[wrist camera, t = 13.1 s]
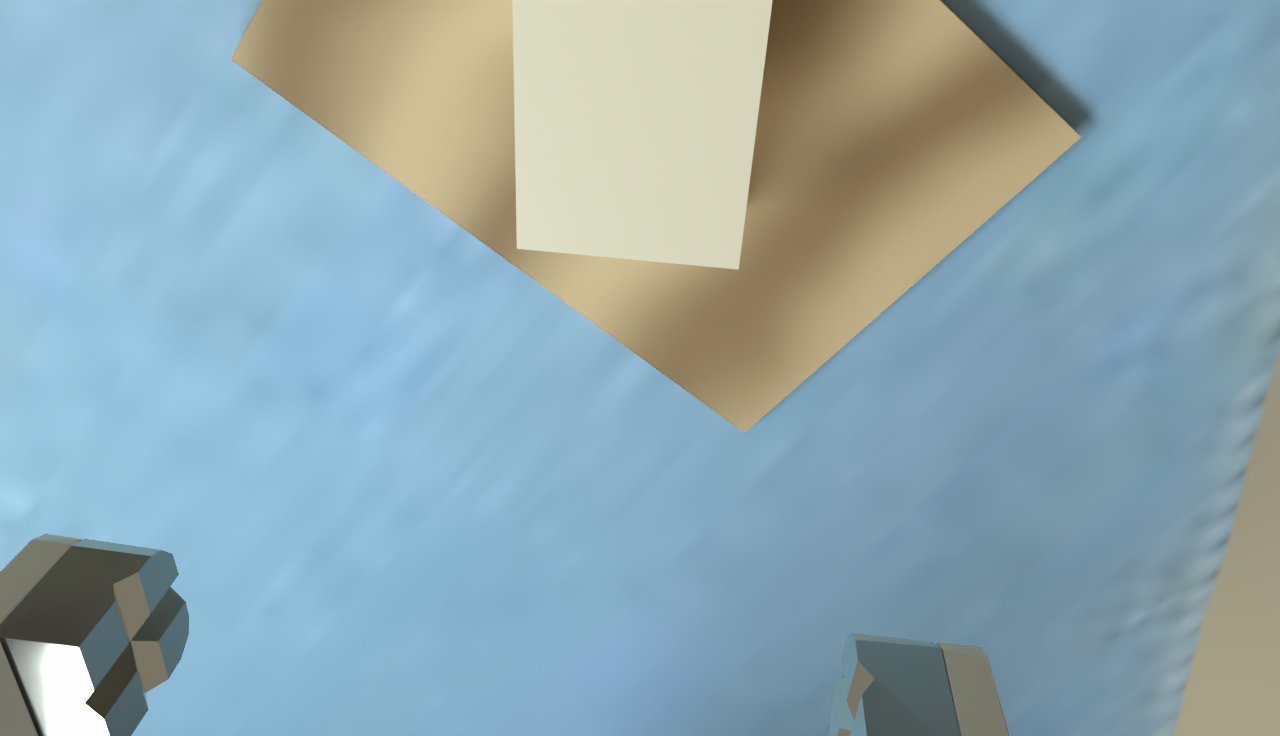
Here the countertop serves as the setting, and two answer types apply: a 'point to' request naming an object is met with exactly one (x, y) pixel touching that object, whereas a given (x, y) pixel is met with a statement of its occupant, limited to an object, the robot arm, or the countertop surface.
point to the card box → (637, 126)
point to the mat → (779, 183)
